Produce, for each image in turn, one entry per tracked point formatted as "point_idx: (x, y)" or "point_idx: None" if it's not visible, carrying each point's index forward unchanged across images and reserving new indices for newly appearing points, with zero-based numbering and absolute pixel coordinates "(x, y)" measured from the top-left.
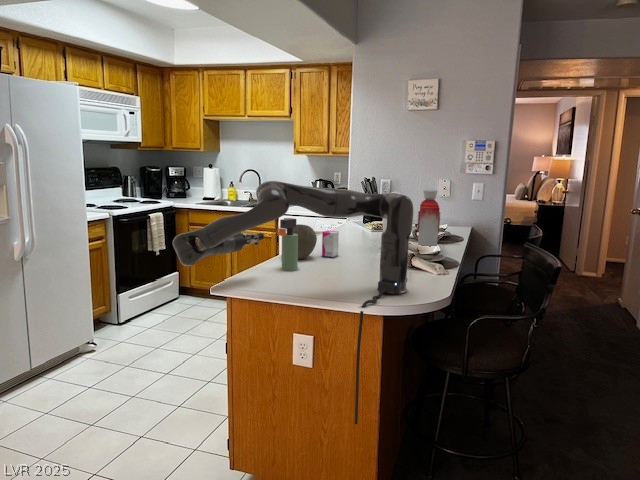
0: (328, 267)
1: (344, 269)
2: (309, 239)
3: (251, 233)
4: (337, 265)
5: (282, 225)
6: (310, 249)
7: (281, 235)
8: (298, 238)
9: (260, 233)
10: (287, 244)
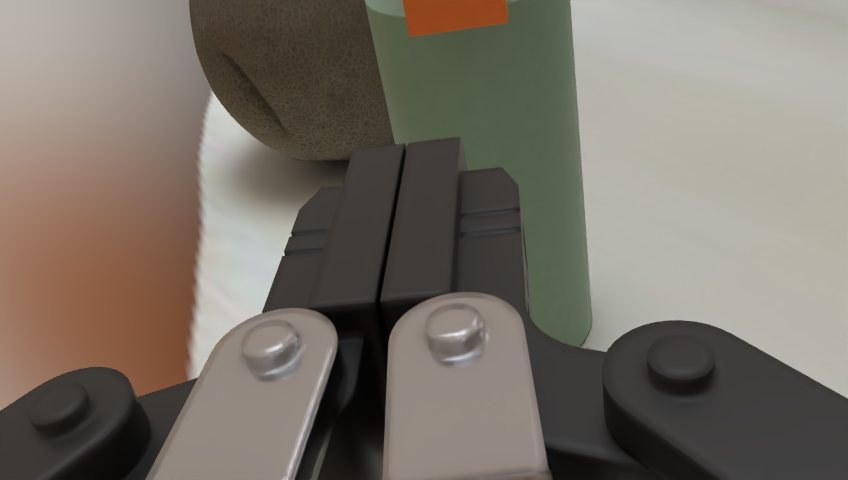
0: (696, 146)
1: (824, 117)
2: None
3: (249, 355)
4: (689, 101)
5: None
6: None
7: (462, 25)
8: (360, 2)
9: (428, 176)
10: (520, 112)
